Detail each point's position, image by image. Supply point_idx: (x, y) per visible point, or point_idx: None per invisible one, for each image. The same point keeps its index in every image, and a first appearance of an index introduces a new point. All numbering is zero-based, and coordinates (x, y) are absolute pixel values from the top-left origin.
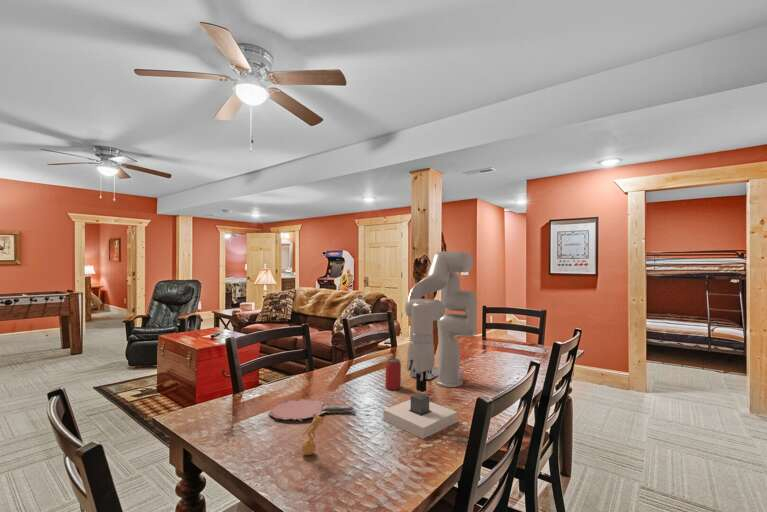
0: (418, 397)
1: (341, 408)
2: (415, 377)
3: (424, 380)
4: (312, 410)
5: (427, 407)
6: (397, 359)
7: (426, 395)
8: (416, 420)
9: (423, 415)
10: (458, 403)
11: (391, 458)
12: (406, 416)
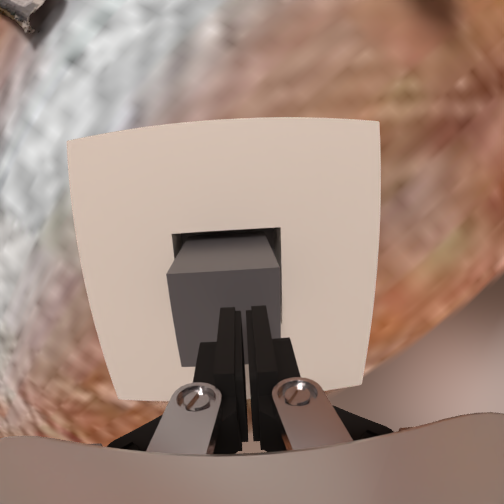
0: (198, 330)
1: (9, 4)
2: (152, 424)
3: (254, 440)
4: None
5: None
6: None
7: (280, 337)
8: (131, 346)
9: None
10: (492, 242)
11: (5, 368)
12: (114, 286)
